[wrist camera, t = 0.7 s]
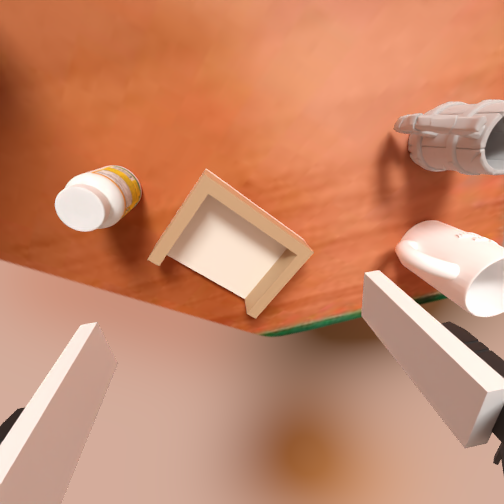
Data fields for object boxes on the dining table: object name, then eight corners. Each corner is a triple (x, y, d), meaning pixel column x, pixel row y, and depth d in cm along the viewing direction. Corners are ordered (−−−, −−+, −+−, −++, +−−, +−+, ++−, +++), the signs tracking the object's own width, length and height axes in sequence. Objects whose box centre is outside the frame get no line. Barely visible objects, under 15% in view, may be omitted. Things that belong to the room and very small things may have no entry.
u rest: (155, 244, 35) (147, 259, 31) (206, 168, 32) (204, 173, 27) (252, 299, 40) (255, 318, 36) (303, 239, 37) (313, 252, 33)
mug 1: (445, 175, 35) (545, 194, 24) (366, 155, 33) (438, 167, 22) (475, 112, 32) (604, 102, 22) (391, 86, 30) (489, 61, 19)
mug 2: (388, 207, 36) (460, 240, 26) (459, 223, 39) (553, 259, 28) (365, 260, 40) (420, 309, 29) (432, 272, 42) (506, 321, 31)
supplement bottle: (135, 162, 30) (101, 174, 22) (147, 207, 33) (122, 234, 24) (87, 168, 30) (34, 182, 21) (103, 213, 32) (60, 242, 24)
